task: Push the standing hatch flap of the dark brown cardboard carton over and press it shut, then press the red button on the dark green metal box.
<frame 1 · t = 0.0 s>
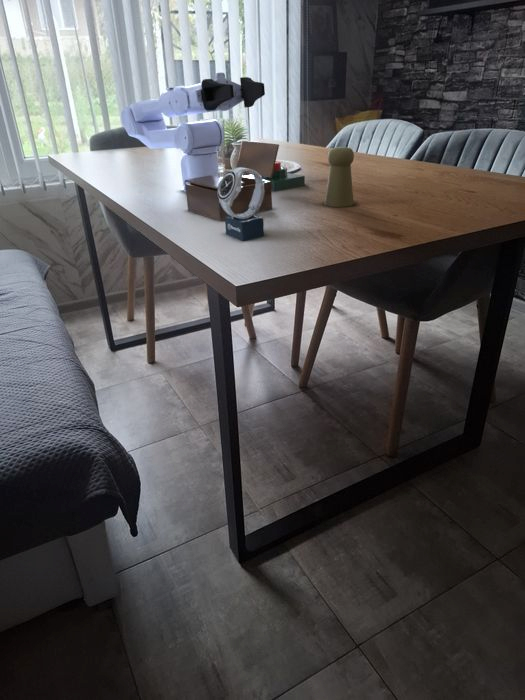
hand: (247, 90, 94), 22 cm above the table, tool horizontal, fingers open, 7 cm apart
flap: (256, 158, 100), point 9 cm above the table, hinge at 110.0°
watch: (244, 236, 84), on the table
olive green tall piece: (338, 204, 102), on the table
carton: (229, 210, 100), on the table
button box: (273, 185, 122), on the table
button: (273, 166, 119), point 4 cm above the table, slide at 0.1 cm
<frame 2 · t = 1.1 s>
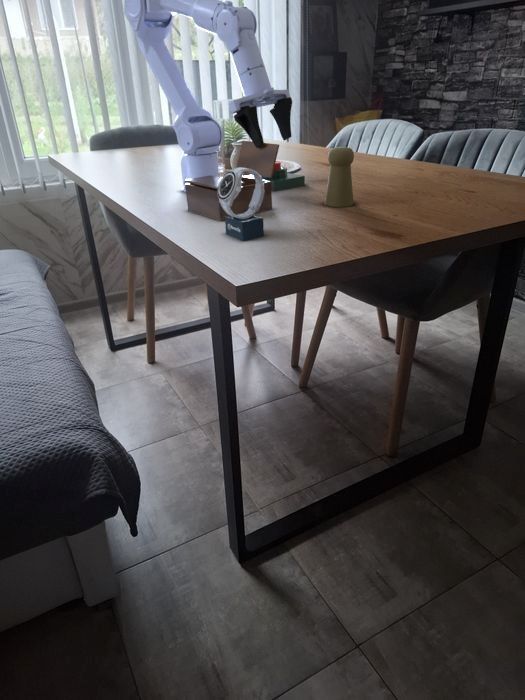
hand: (274, 142, 100), 12 cm above the table, tool tilted 20°, fingers open, 7 cm apart
flap: (256, 158, 100), point 9 cm above the table, hinge at 110.7°, touching gripper
everything else where it was.
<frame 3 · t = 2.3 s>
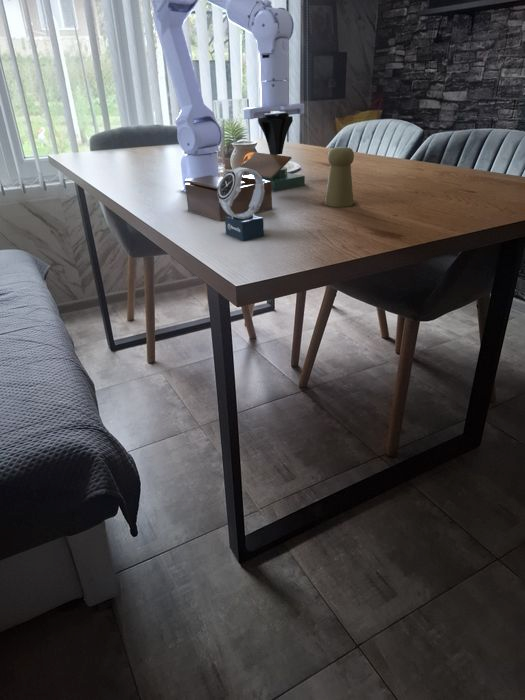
hand: (276, 154, 103), 9 cm above the table, tool pointing down, fingers closed
flap: (262, 164, 102), point 8 cm above the table, hinge at 149.5°
everything else where it was.
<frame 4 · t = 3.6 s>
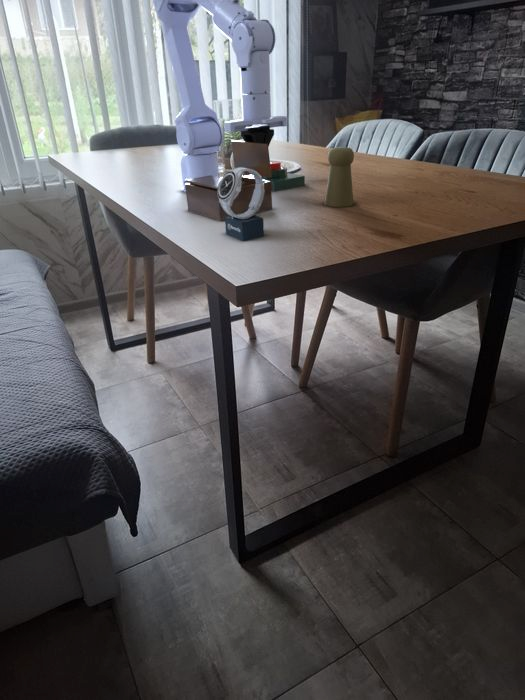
hand: (258, 167, 101), 7 cm above the table, tool pointing down, fingers closed
flap: (250, 158, 99), point 9 cm above the table, hinge at 83.7°, touching gripper
everything else where it was.
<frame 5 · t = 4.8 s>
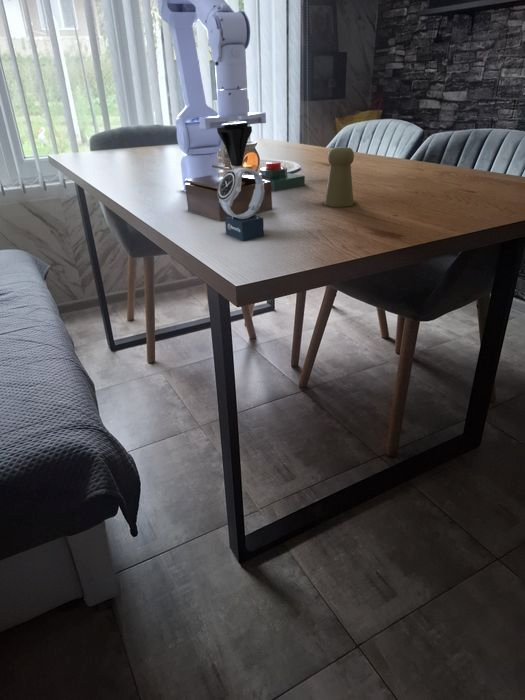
hand: (236, 165, 98), 8 cm above the table, tool pointing down, fingers closed
flap: (240, 171, 99), point 7 cm above the table, hinge at 17.8°
everything else where it was.
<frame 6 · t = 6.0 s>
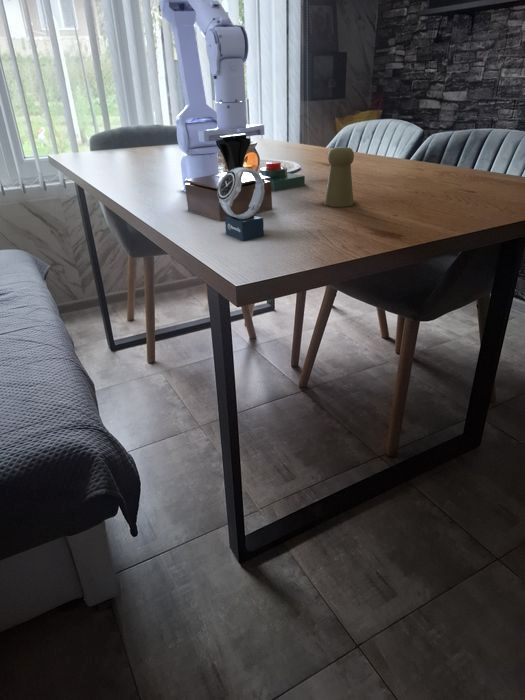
hand: (235, 176, 98), 6 cm above the table, tool pointing down, fingers closed, pressing on flap
flap: (240, 177, 99), point 6 cm above the table, hinge at 0.5°, touching gripper
everything else where it was.
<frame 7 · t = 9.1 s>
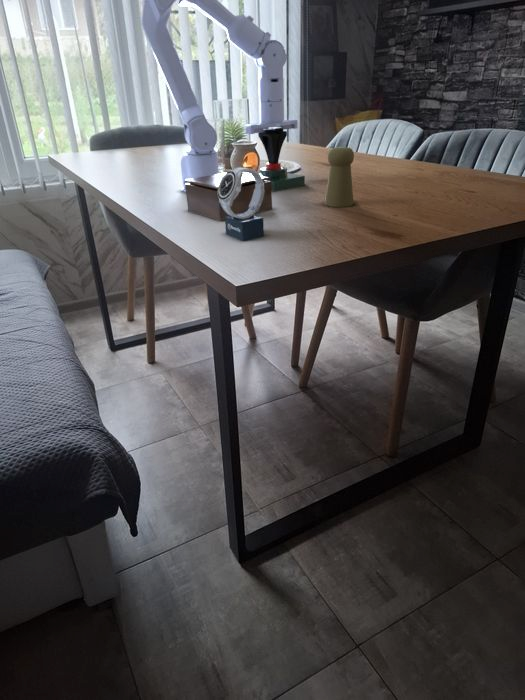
hand: (273, 163, 119), 5 cm above the table, tool pointing down, fingers closed, pressing on button
flap: (240, 177, 99), point 6 cm above the table, hinge at 0.5°
button: (273, 166, 119), point 4 cm above the table, slide at 0.0 cm, touching gripper
everything else where it was.
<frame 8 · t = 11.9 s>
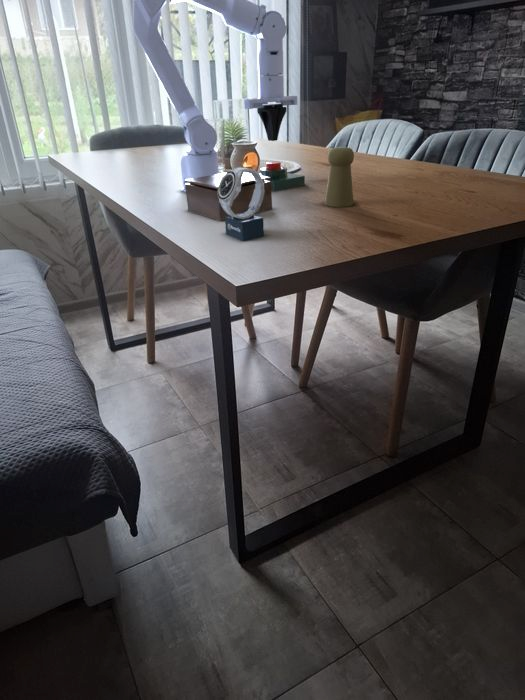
hand: (272, 140, 116), 10 cm above the table, tool pointing down, fingers closed
button: (273, 166, 119), point 5 cm above the table, slide at 0.1 cm
everything else where it was.
at the end: flap at +0° (first picture: +110°); button pushed in 1.2 cm at the most during the clip, back to where it started at the end; button slide at 0.1 cm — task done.
